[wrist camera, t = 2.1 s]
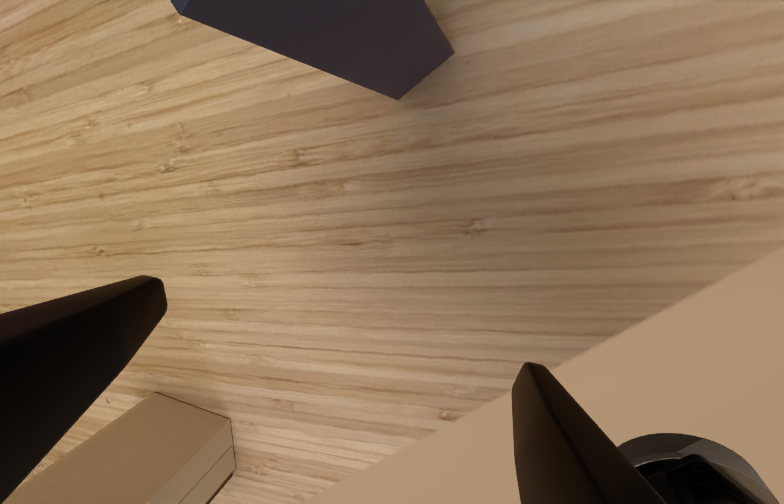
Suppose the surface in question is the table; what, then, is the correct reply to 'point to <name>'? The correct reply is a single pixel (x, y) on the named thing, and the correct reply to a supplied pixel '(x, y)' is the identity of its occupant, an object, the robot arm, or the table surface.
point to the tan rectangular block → (141, 460)
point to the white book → (337, 36)
